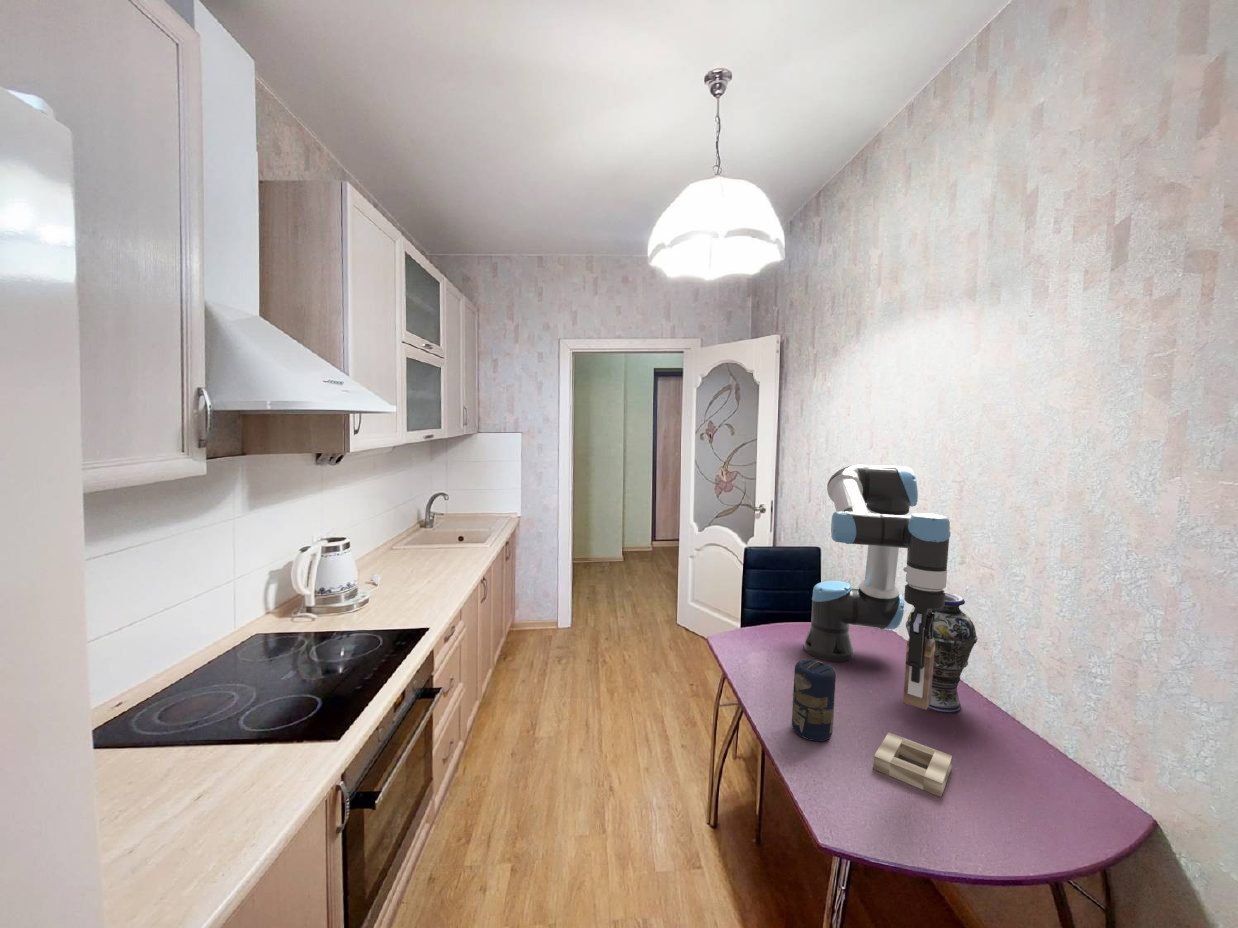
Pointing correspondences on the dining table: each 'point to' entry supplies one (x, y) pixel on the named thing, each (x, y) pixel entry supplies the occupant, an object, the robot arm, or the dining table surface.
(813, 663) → the blue patterned canister
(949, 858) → the dining table surface
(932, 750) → the socket block
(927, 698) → the block
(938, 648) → the vase
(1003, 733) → the dining table surface
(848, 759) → the dining table surface
